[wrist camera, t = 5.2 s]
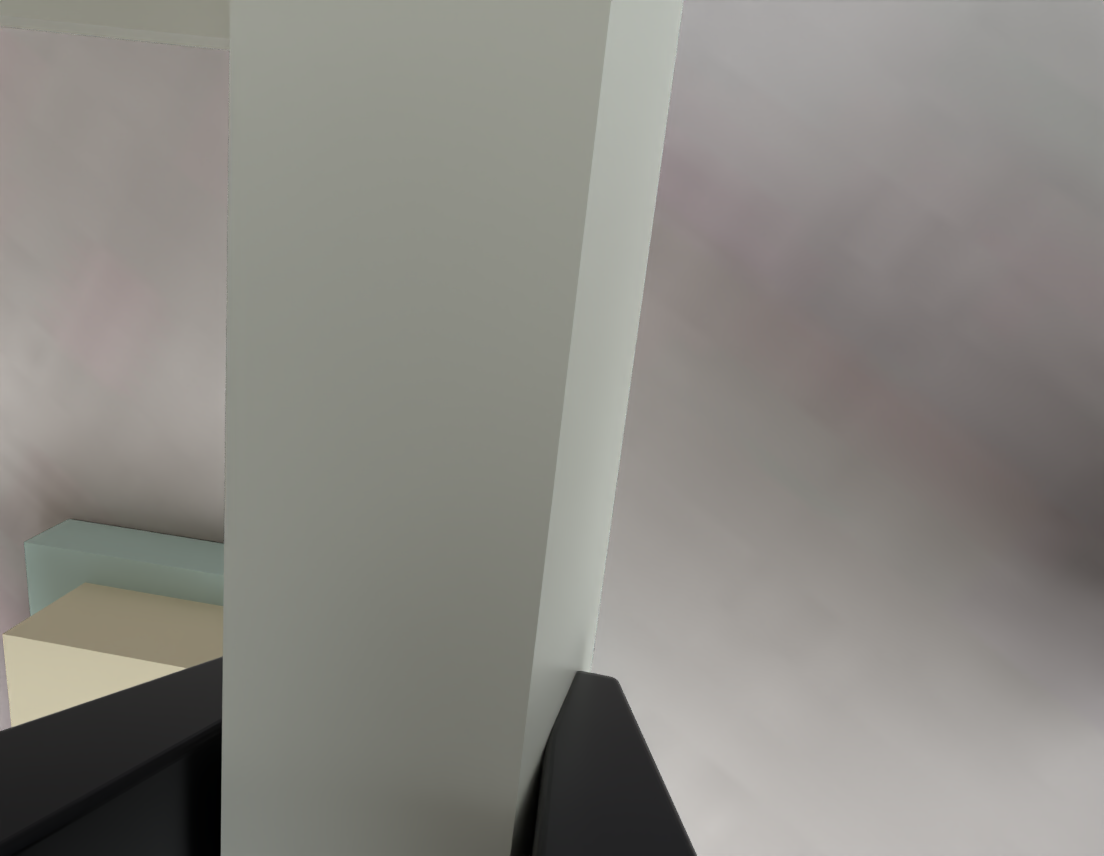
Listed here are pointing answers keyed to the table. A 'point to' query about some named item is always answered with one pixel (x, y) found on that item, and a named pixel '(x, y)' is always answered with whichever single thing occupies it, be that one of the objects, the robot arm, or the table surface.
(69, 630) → the display stand
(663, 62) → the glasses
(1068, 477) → the table surface
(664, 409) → the table surface
